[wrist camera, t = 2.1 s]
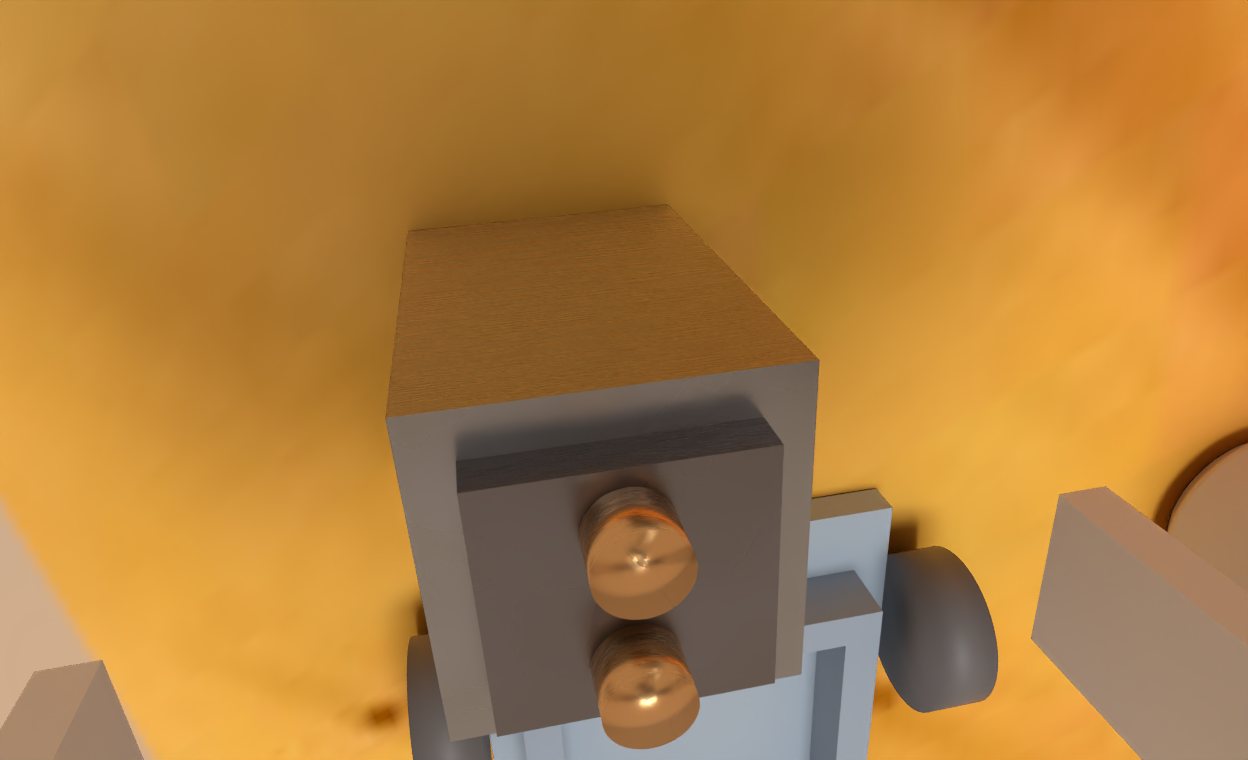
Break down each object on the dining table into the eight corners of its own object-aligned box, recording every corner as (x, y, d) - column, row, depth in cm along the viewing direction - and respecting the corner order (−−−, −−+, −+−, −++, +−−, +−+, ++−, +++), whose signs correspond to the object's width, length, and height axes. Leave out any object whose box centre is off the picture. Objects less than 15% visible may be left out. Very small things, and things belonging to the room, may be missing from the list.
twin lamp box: (407, 231, 19) (376, 493, 10) (667, 204, 20) (877, 419, 10) (446, 459, 22) (452, 843, 12) (673, 426, 23) (846, 760, 13)
